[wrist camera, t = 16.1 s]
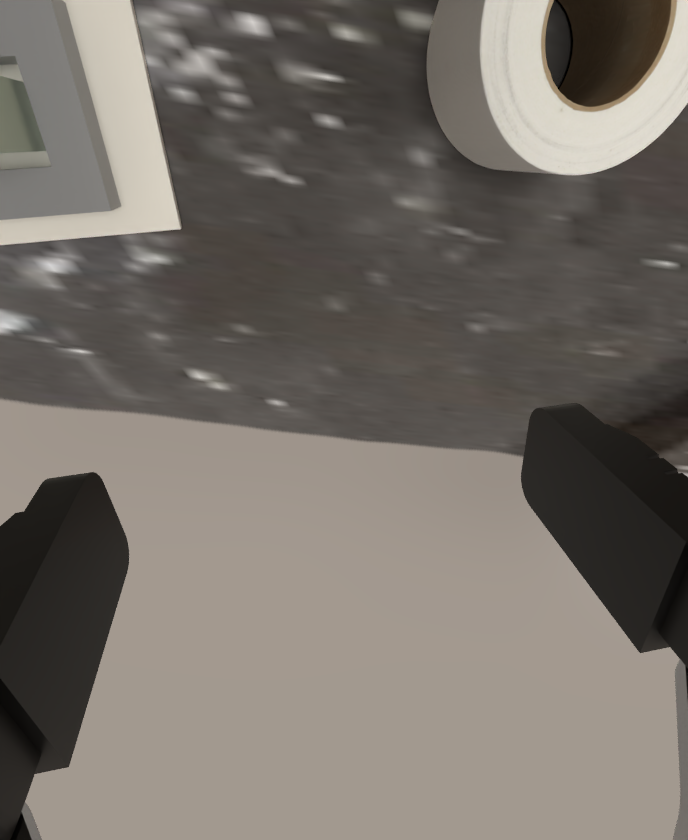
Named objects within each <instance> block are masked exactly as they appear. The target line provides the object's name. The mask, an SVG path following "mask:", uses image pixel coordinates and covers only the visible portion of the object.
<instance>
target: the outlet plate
mask: <svg viewBox="0 0 688 840" xmlns="http://www.w3.org/2000/svg"><path fill="white" fill-rule="evenodd" d="M0 76H3V77H7V78H10V79H14V80H18V81H21V82H24V85H25V88H26V91H27V94H28V97H29V100H30V103H31V106H32V109H33V112H34V115H35V118H36V121H37V124H38V127H39V130H40V133H41V136H42V139H43V142H44V145H45V148H46V151H38V152H17V153H0V245H7V244H18V243H30V242H41V241H52V240H64V239H75V238H86V237H98V236H109V235H120V234H132V233H143V232H154V231H166V230H177V229H181V228H182V224H181V219H180V215H179V210H178V205H177V201H176V196H175V192H174V187H173V183H172V178H171V174H170V169H169V164H168V160H167V155H166V151H165V146H164V142H163V137H162V133H161V128H160V123H159V119H158V114H157V110H156V105H155V101H154V96H153V92H152V87H151V82H150V78H149V73H148V69H147V64H146V60H145V55H144V51H143V46H142V41H141V37H140V32H139V28H138V23H137V19H136V14H135V10H134V5H133V0H0Z"/></svg>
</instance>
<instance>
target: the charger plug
mask: <svg viewBox="0 0 688 840" xmlns="http://www.w3.org/2000/svg"><path fill="white" fill-rule="evenodd" d="M38 151H46V148H45V145H44V142H43V139H42V136H41V133H40V130H39V127H38V124H37V121H36V118H35V115H34V112H33V109H32V106H31V103H30V100H29V97H28V94H27V91H26V88H25V85H24V82H21V81H18V80H14V79H10V78H7V77H3V76H0V153H17V152H38Z"/></svg>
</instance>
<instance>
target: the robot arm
mask: <svg viewBox="0 0 688 840" xmlns="http://www.w3.org/2000/svg"><path fill="white" fill-rule="evenodd" d="M521 482H522V488H523V492H524V495H525V498H526V500H527V502H528V504H529V505H530V506H531V508H532V509H533V511H534V512H535V513H536V515H537V516H538V517H539V519H540V520H541V521H542V523H543V524H544V525H545V527H546V528H547V529H548V531H549V532H550V533H551V534H552V536H553V537H554V539H555V540H556V541H557V543H558V544H559V545H560V547H561V548H562V549H563V551H564V552H565V553H566V555H567V556H568V557H569V559H570V560H571V561H572V562H573V564H574V566H575V567H576V568H577V570H578V571H579V572H580V574H581V575H582V576H583V578H584V579H585V580H586V581H587V583H588V584H589V586H590V587H591V588H592V590H593V591H594V592H595V594H596V595H597V596H598V598H599V599H600V600H601V602H602V603H603V604H604V606H605V607H606V608H607V609H608V611H609V612H610V613H611V615H612V616H613V617H614V619H615V620H616V622H617V623H618V624H619V626H620V627H621V628H622V630H623V631H624V632H625V634H626V635H627V636H628V638H629V639H630V640H631V642H632V643H633V644H634V646H635V647H636V648H637V650H638V651H639V652H640V653H643V652H648V651H652V650H657V649H662V648H667V647H671V648H672V650H673V651H674V652H675V653H676V654H677V656H678V657H679V658H680V660H679V662H678V664H677V667H676V669H675V686H676V707H677V729H678V750H679V770H680V809H679V815H678V820H677V824H676V827H675V832H674V836H673V840H688V477H687V476H685V475H684V474H683V473H680V474H679V473H678V472H677V469H676V468H675V467H674V466H673V465H671V464H670V463H669V462H668V461H666V460H665V459H664V458H659V454H657V453H656V452H655V451H653V450H652V449H651V448H650V447H648V446H647V445H646V444H645V443H643V442H642V441H641V440H639V439H638V438H637V437H635V436H633V435H630V434H628V433H626V432H624V431H622V430H619V429H617V428H615V427H613V426H610V425H608V424H606V425H605V424H604V423H603V422H601V421H600V420H599V419H598V418H597V417H595V416H594V415H593V414H592V413H590V412H589V411H588V410H587V409H586V408H584V407H583V406H582V405H580V404H578V403H570V404H563V405H556V406H549V407H543V408H537V409H535V410H534V411H533V412H532V414H531V416H530V420H529V426H528V432H527V439H526V445H525V452H524V458H523V465H522V472H521ZM128 565H129V549H128V542H127V538H126V535H125V533H124V530H123V528H122V526H121V523H120V521H119V518H118V516H117V514H116V512H115V509H114V507H113V504H112V502H111V499H110V497H109V495H108V492H107V490H106V488H105V485H104V483H103V481H102V479H101V478H100V476H99V475H98V474H96V473H94V472H91V473H84V474H77V475H71V476H63V477H57V478H50V479H47V480H45V481H44V482H43V483H42V484H41V485H40V487H39V489H38V490H37V492H36V493H35V495H34V497H33V498H32V500H31V501H30V503H29V505H28V506H27V508H26V509H25V511H24V512H19V513H15V514H14V515H13V516H12V517H11V518H9V519H8V520H7V521H6V522H5V523H4V524H2V525H1V526H0V840H42V839H41V836H40V834H39V831H38V828H37V825H36V823H35V820H34V818H33V815H32V813H31V810H30V809H29V807H28V805H27V804H26V803H25V800H26V797H27V794H28V791H29V788H30V786H31V782H32V780H33V777H34V774H37V773H42V772H46V771H51V770H56V769H61V768H66V767H69V764H70V761H71V758H72V754H73V751H74V748H75V744H76V741H77V737H78V734H79V731H80V728H81V724H82V720H83V718H84V714H85V711H86V707H87V704H88V701H89V698H90V694H91V691H92V687H93V684H94V681H95V678H96V674H97V671H98V667H99V664H100V661H101V657H102V654H103V650H104V647H105V644H106V641H107V637H108V634H109V630H110V627H111V624H112V621H113V617H114V614H115V611H116V607H117V604H118V601H119V597H120V594H121V591H122V587H123V584H124V580H125V577H126V574H127V570H128Z"/></svg>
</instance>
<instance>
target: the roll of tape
mask: <svg viewBox="0 0 688 840" xmlns="http://www.w3.org/2000/svg"><path fill="white" fill-rule="evenodd" d="M553 1H554V0H439V2H438V5H437V8H436V11H435V15H434V18H433V22H432V25H431V30H430V35H429V40H428V48H427V65H426V67H427V83H428V90H429V95H430V100H431V104H432V107H433V110H434V113H435V116H436V118H437V121H438V123H439V125H440V127H441V129H442V130H443V132H444V134H445V135H446V137H447V139H448V140H449V141H450V142H451V143H452V145H453V146H454V147H455V148H456V149H457V150H458V151H459V152H460V153H461V154H462V155H464V156H465V157H466V158H468V159H469V160H471V161H472V162H474V163H476V164H478V165H481V166H483V167H486V168H490V169H495V170H506V171H520V172H534V173H547V174H559V175H584V174H591V173H595V172H599V171H603V170H605V169H608V168H611V167H614V166H616V165H618V164H620V163H622V162H624V161H626V160H628V159H629V158H631V157H633V156H634V155H636V154H637V153H639V152H640V151H641V150H643V149H644V148H646V147H647V146H648V145H649V144H651V143H652V142H653V141H654V140H655V139H656V138H657V137H659V136H660V135H661V134H662V133H663V132H664V131H665V130H666V129H667V127H668V126H669V125H670V124H671V123H672V122H673V121H674V120H675V119H676V117H677V116H678V115H679V114H680V112H681V111H682V110H683V109H684V107H685V106H686V104H687V103H688V0H558V1H559V2H560V3H561V4H562V6H563V7H564V9H565V10H566V12H567V15H568V17H569V20H570V23H571V27H572V34H573V52H572V58H571V62H570V66H569V69H568V72H567V75H566V77H565V79H564V82H563V84H562V85H561V87H560V88H559V90H558V88H557V87H556V85H555V83H554V82H553V80H552V77H551V73H550V71H549V68H548V65H547V61H546V53H545V36H546V27H547V21H548V17H549V13H550V9H551V7H552V4H553Z"/></svg>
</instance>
